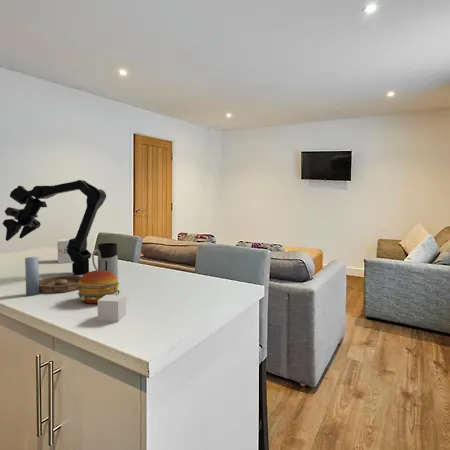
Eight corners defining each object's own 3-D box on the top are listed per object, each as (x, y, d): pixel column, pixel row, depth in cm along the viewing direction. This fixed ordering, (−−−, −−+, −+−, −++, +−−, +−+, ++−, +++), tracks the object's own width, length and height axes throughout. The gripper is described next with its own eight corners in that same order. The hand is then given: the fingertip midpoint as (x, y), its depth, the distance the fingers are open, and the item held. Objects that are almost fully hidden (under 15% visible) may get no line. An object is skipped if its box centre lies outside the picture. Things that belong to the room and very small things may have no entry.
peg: (39, 292, 125) (38, 256, 124) (38, 295, 122) (37, 258, 121) (26, 293, 124) (25, 257, 123) (25, 296, 120) (24, 259, 119)
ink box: (58, 260, 185) (57, 238, 185) (75, 259, 189) (74, 238, 188) (57, 263, 178) (57, 240, 177) (75, 262, 181) (75, 240, 180)
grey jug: (122, 278, 149) (122, 243, 147) (102, 286, 135) (102, 248, 134) (105, 276, 151) (104, 242, 150) (83, 284, 137) (83, 246, 136)
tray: (84, 280, 144) (84, 274, 144) (86, 290, 128) (86, 283, 128) (37, 283, 137) (37, 277, 137) (33, 295, 121) (33, 288, 121)
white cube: (97, 321, 98) (97, 300, 97) (106, 314, 104) (106, 294, 103) (118, 322, 97) (118, 301, 97) (126, 315, 103) (125, 295, 103)
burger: (71, 299, 118) (70, 270, 117) (108, 292, 127) (108, 265, 126) (87, 308, 108) (87, 277, 107) (127, 300, 118) (126, 271, 117)
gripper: (28, 200, 164) (12, 227, 166) (1, 200, 146) (-17, 231, 147) (48, 213, 164) (31, 240, 166) (23, 215, 146) (4, 245, 147)
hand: (13, 239), depth 156 cm, fingers open, 9 cm apart
